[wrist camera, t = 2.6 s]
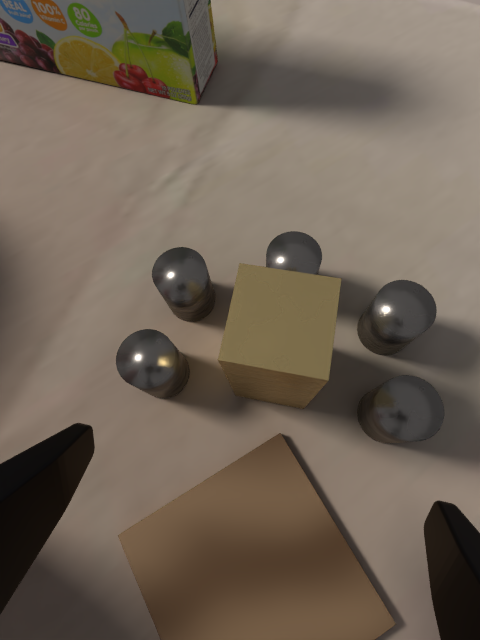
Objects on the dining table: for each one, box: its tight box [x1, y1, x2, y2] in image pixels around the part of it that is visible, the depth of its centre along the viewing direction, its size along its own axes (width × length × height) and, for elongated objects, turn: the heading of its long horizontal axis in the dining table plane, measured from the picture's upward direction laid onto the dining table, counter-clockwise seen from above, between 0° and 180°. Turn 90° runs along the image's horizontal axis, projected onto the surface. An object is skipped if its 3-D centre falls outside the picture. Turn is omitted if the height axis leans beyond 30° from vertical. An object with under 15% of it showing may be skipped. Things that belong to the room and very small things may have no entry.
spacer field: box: [116, 231, 444, 443], centre depth 21 cm, size 10×16×4 cm, turn 79°
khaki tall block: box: [218, 263, 341, 409], centre depth 18 cm, size 4×4×9 cm
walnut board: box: [118, 433, 396, 640], centre depth 19 cm, size 10×10×1 cm
